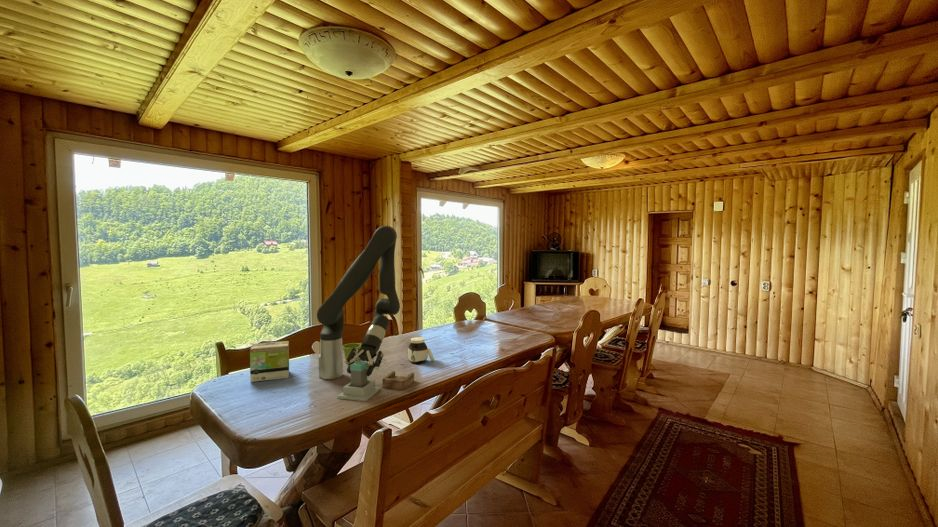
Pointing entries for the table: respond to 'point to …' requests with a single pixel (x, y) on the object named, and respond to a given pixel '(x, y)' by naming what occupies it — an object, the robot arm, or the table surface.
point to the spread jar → (419, 351)
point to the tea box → (269, 361)
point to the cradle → (397, 381)
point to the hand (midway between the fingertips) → (357, 374)
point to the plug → (358, 374)
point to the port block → (359, 391)
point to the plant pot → (349, 347)
